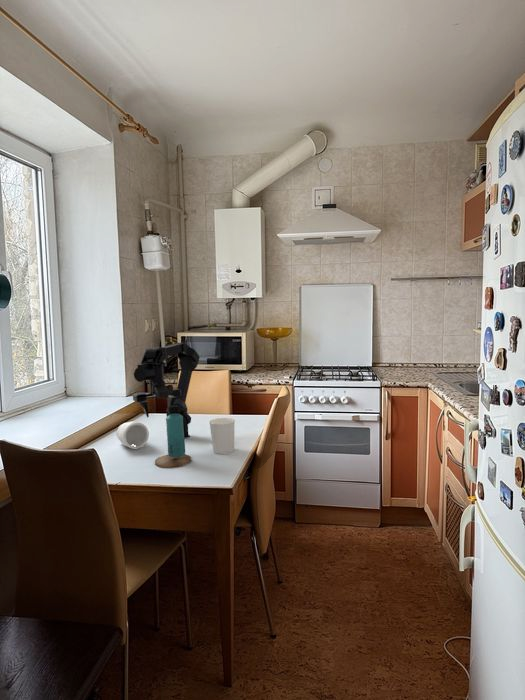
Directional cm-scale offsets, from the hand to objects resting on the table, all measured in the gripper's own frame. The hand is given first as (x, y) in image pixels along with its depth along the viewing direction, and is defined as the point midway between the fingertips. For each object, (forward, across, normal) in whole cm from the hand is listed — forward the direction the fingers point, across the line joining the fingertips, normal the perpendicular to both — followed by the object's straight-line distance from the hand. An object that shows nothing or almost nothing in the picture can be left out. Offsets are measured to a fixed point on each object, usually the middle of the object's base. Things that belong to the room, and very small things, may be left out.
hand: (158, 415), depth 192 cm
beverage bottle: (+12, -1, -22) cm, 25 cm away
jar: (+9, -10, +16) cm, 21 cm away
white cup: (+13, +18, -22) cm, 31 cm away
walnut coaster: (+13, -3, -22) cm, 26 cm away
